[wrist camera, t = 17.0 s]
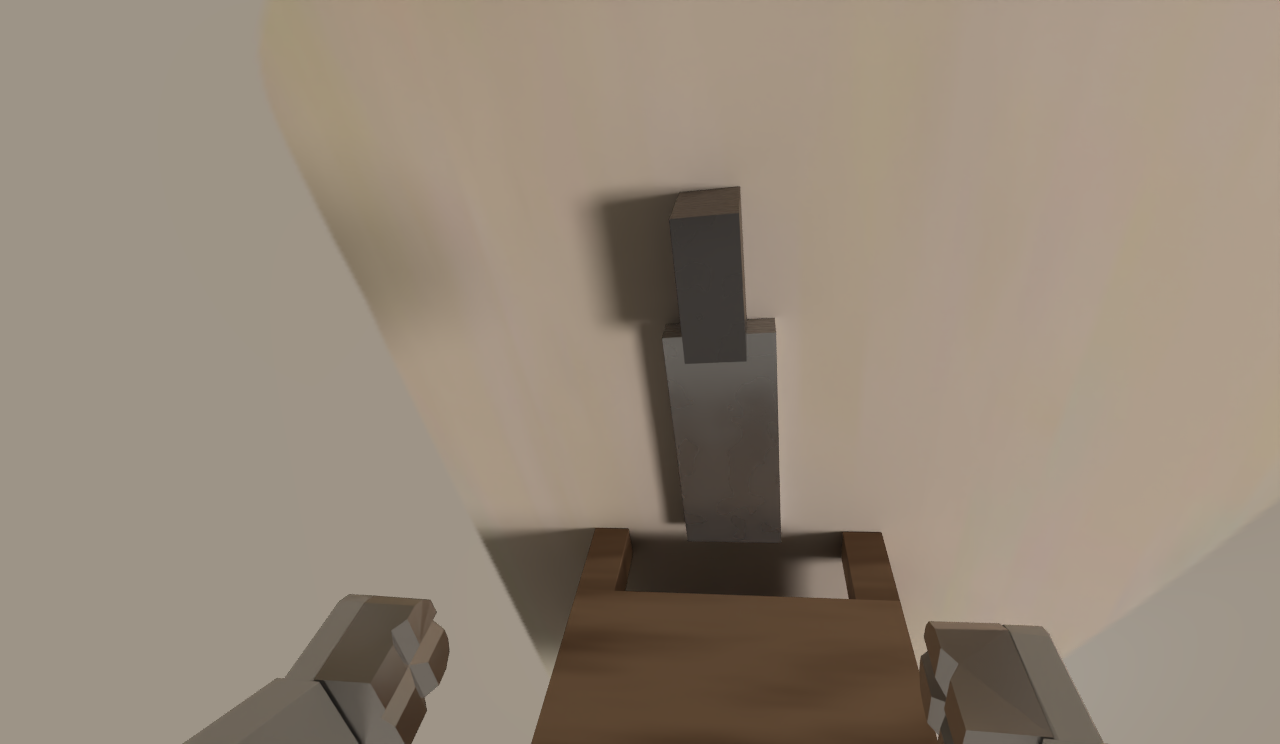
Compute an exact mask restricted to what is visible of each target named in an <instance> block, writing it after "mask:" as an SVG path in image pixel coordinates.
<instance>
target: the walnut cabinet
mask: <svg viewBox="0 0 1280 744" xmlns="http://www.w3.org/2000/svg"><path fill="white" fill-rule="evenodd" d="M632 556H633V550H632V545H631V539H630V534H629V529H613V528H596V529H595V532H594V535H593V539H592V542H591V545H590V549H589V552H588V555H587V559H586V562H585V565H584V569H583V572H582V575H581V579H580V582H579V585H578V589H577V592H576V596H575V599H574V602H573V606H572V609H571V612H570V616H569V619H568V622H567V626H566V629H565V632H564V636H563V639H562V642H561V646H560V649H559V652H558V656H557V659H556V662H555V666H554V669H553V672H552V676H551V679H550V683H549V686H548V689H547V693H546V696H545V699H544V703H543V706H542V709H541V713H540V716H539V719H538V723H537V726H536V729H535V733H534V736H533V739H532V743H531V744H937V742H938V741H937V737H936V733H935V731H934V730H933V729H932V728H931V726H930V725H929V724H928V723H927V720H926V716H925V712H924V708H923V703H922V697H921V691H920V676H919V670H918V666H917V662H916V659H915V655H914V651H913V648H912V644H911V640H910V636H909V633H908V629H907V625H906V622H905V618H904V614H903V610H902V607H901V603H900V599H899V596H898V592H897V588H896V584H895V581H894V577H893V573H892V570H891V566H890V562H889V558H888V555H887V551H886V547H885V543H884V540H883V536H882V533H877V532H843V539H842V563H843V569H844V574H845V580H846V586H847V591H848V597H849V599H831V598H803V597H775V596H747V595H719V594H691V593H663V592H635V591H625V589H626V584H627V580H628V575H629V570H630V566H631V561H632Z"/></svg>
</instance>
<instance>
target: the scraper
mask: <svg viewBox="0 0 1280 744" xmlns="http://www.w3.org/2000/svg"><path fill="white" fill-rule="evenodd" d="M669 223H670V233H671V242H672V251H673V260H674V269H675V279H676V288H677V297H678V306H679V315H680V323H674V324H666V325H665V329H664V333H663V337H662V342H663V350H664V357H665V365H666V373H667V381H668V389H669V397H670V405H671V413H672V421H673V428H674V436H675V444H676V452H677V460H678V468H679V476H680V484H681V492H682V500H683V507H684V515H685V523H686V531H687V539H688V541H700V542H758V543H781V520H780V479H779V437H778V395H777V354H776V327H775V318H764V319H747V315H746V295H745V275H744V255H743V235H742V215H741V195H740V187H730V188H720V189H710V190H700V191H690V192H680V193H679V195H678V198H677V200H676V203H675V205H674V208H673V210H672V213H671V215H670V218H669Z"/></svg>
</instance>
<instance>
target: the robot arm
mask: <svg viewBox="0 0 1280 744" xmlns="http://www.w3.org/2000/svg"><path fill="white" fill-rule="evenodd" d="M436 613H437V612H436V610H435V608H434V606H433V604H432V602H431V600H427V599H412V598H399V597H398V598H397V597H384V596H372V595H352V594H349V595H347V596H346V597H345V598H343V599H342V600H340V601H339V602H338V604H337V605H336V606H335V608H334V609H333V611H332V612H331V614H330V615H329V616H328V618H327V619H326V621H325V622H324V623H323V625H322V626H321V628H320V629H319V630H318V632H317V633H316V635H315V636H314V638H313V639H312V640H311V642H310V643H309V644H308V646H307V647H306V649H305V650H304V651H303V653H302V654H301V656H300V657H299V658H298V660H297V661H296V663H295V664H294V666H293V667H292V668H291V670H290V671H289V672H288V674H287V675H286V677H285V678H276V679H275V680H274V681H272V682H271V683H269V684H268V685H266V686H265V687H263V688H262V689H260V690H259V691H258V692H256V693H255V694H253V695H252V696H251V697H249V698H247V699H246V700H245V701H243V702H242V703H241V704H239V705H237V706H236V707H235V708H233V709H232V710H230V711H229V712H227V713H226V714H225V715H223V716H222V717H220V718H219V719H217V720H216V721H214V722H213V723H212V724H210V725H209V726H207V727H206V728H205V729H203V730H202V731H200V732H199V733H197V734H196V735H194V736H193V737H192V738H190V739H189V740H187V741H186V742H184V743H183V744H411V743H412V741H413V739H414V737H415V735H416V733H417V730H418V728H419V726H420V724H421V722H422V720H423V718H424V716H425V714H426V712H427V708H426V702H425V696H427V695H428V694H429V693H430V692H431V691H433V690H434V689H435V688H436V687H437V686H438V685H439V684H440V681H441V679H442V677H443V675H444V672H445V670H446V666H447V661H448V656H449V642H448V637H447V635H446V632H445V630H444V629H443V628H442V627H441V626H439V625H438V624H437V623H436V622H434V621H433V619H434V617H435V614H436ZM924 639H925V643H926V646H927V650H928V651H927V652H926V653H925V654H923V655H922V656H921V659H920V669H919V676H920V691H921V697H922V703H923V708H924V712H925V716H926V720H927V723H928V724H929V725H930V726H931V728H932V729H933V730H934V731H935V732H936V733H937V734H938V735H939V737H938V742H937V744H1105V743H1103V741H1102V738H1101V736H1100V734H1099V733H1098V731H1097V728H1096V726H1095V724H1094V722H1093V721H1092V718H1091V716H1090V714H1089V712H1088V710H1087V708H1086V706H1085V704H1084V702H1083V700H1082V698H1081V696H1080V694H1079V692H1078V690H1077V688H1076V686H1075V684H1074V682H1073V680H1072V678H1071V676H1070V674H1069V672H1068V670H1067V668H1066V666H1065V664H1064V662H1063V660H1062V658H1061V656H1060V654H1059V652H1058V650H1057V648H1056V646H1055V644H1054V642H1053V640H1052V638H1051V636H1050V634H1049V633H1048V632H1047V631H1046V630H1045V629H1044V628H1043V627H1042V626H1028V625H1001V624H999V623H969V622H937V621H929V622H928V623H927V625H926V628H925V633H924Z"/></svg>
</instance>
